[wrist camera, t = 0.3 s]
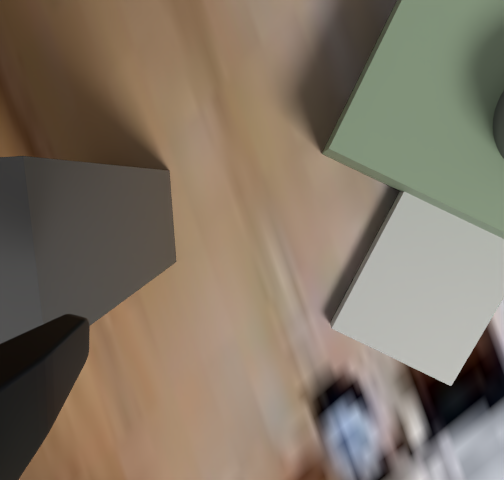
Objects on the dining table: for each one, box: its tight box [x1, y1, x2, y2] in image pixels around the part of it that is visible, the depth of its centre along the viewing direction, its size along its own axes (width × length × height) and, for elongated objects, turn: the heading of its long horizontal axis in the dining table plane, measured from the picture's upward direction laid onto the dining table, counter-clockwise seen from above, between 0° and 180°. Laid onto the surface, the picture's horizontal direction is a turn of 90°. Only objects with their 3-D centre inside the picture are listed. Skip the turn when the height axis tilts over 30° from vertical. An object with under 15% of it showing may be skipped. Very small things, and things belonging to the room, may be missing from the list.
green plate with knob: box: [322, 0, 504, 386], centre depth 19 cm, size 18×16×6 cm
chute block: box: [0, 156, 176, 344], centre depth 17 cm, size 5×5×13 cm
